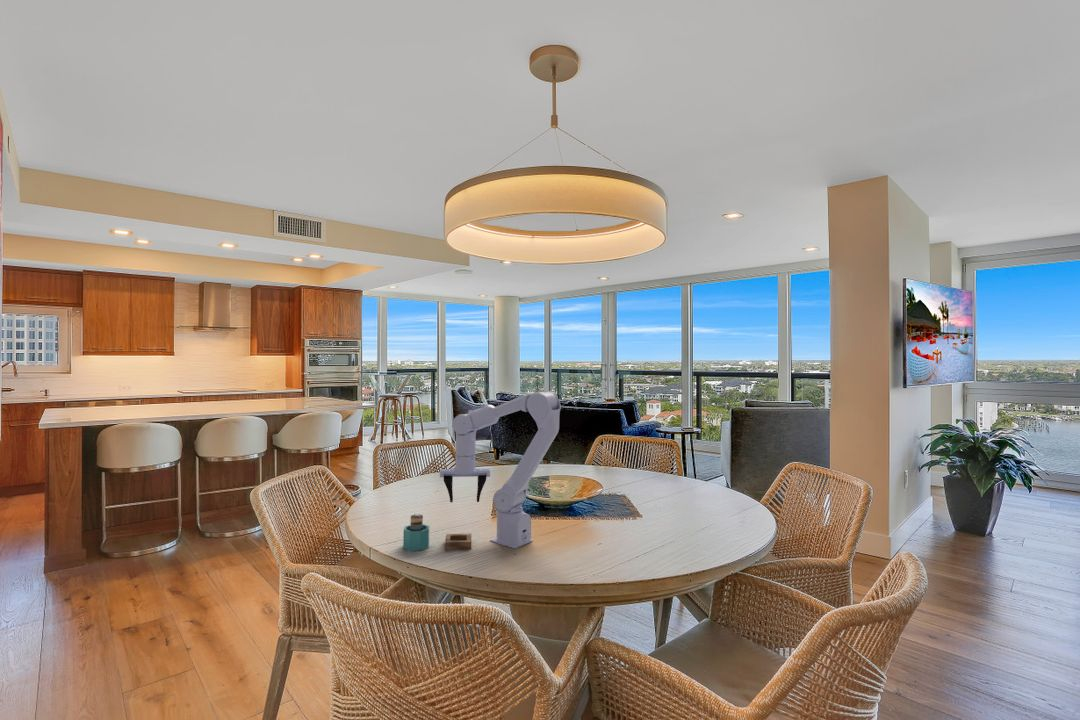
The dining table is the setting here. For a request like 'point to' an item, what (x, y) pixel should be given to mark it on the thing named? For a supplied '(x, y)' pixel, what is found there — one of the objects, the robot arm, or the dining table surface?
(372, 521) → the dining table surface
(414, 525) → the cell
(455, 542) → the block
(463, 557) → the dining table surface
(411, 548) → the cup
